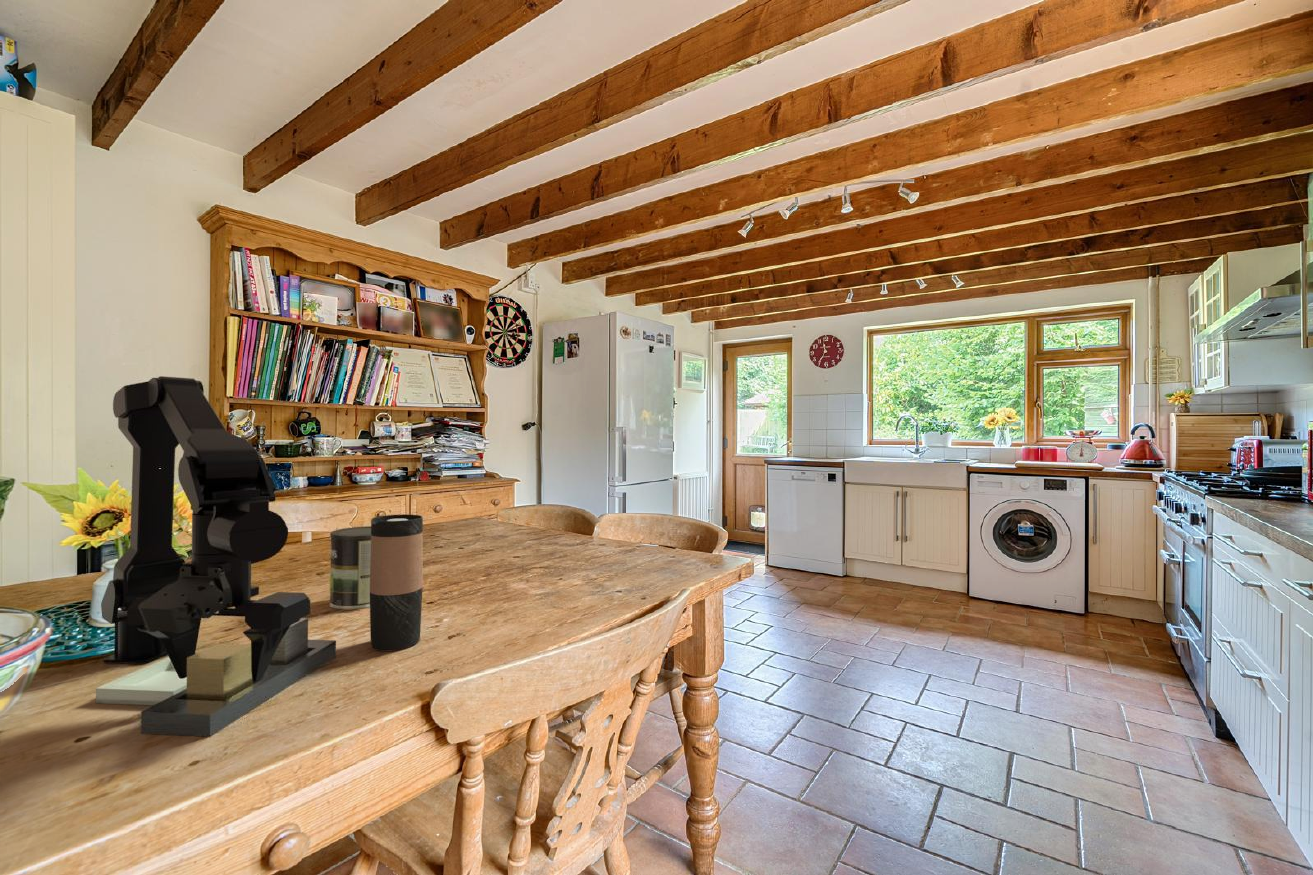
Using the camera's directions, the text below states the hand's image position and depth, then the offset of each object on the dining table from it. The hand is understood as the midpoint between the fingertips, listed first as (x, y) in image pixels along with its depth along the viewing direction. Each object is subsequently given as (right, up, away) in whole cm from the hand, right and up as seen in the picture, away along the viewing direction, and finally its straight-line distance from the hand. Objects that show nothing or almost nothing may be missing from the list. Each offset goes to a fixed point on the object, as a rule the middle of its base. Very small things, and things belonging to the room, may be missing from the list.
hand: (221, 678), depth 67 cm
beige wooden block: (0, -4, 0) cm, 4 cm away
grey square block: (+1, -4, +10) cm, 11 cm away
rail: (0, -4, +5) cm, 6 cm away
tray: (-11, -3, +6) cm, 13 cm away
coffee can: (-6, -3, +42) cm, 43 cm away
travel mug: (+11, -4, +21) cm, 24 cm away
